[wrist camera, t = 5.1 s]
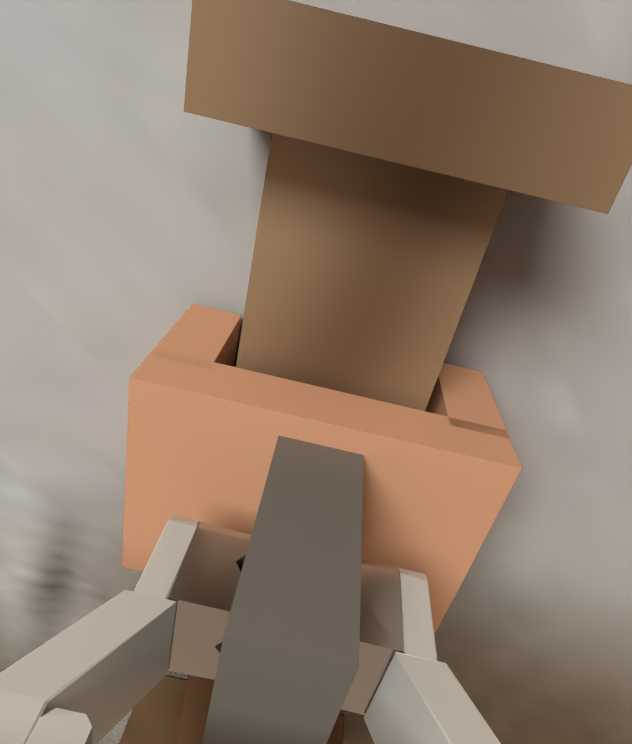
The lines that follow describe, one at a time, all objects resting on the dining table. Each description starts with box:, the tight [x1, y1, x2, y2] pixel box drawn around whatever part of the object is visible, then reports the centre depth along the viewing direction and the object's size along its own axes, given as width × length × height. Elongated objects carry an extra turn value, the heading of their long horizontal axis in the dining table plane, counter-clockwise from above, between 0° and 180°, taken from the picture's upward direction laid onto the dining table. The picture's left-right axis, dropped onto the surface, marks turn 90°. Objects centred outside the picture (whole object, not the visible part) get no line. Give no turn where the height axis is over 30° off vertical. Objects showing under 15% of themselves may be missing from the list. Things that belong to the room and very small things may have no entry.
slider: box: [122, 304, 522, 744], centre depth 10 cm, size 7×5×8 cm
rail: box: [119, 0, 632, 744], centre depth 13 cm, size 8×24×6 cm, turn 168°
